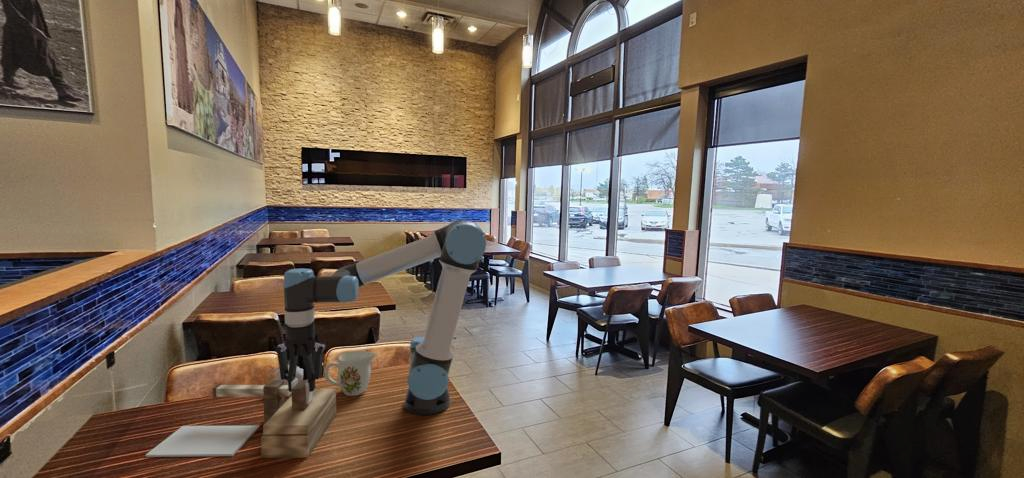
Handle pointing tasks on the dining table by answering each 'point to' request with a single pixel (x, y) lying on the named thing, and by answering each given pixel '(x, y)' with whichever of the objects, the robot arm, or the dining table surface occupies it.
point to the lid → (299, 411)
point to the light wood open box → (290, 442)
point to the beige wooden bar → (245, 391)
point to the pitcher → (352, 372)
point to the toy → (298, 370)
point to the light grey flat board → (204, 441)
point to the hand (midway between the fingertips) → (302, 401)
